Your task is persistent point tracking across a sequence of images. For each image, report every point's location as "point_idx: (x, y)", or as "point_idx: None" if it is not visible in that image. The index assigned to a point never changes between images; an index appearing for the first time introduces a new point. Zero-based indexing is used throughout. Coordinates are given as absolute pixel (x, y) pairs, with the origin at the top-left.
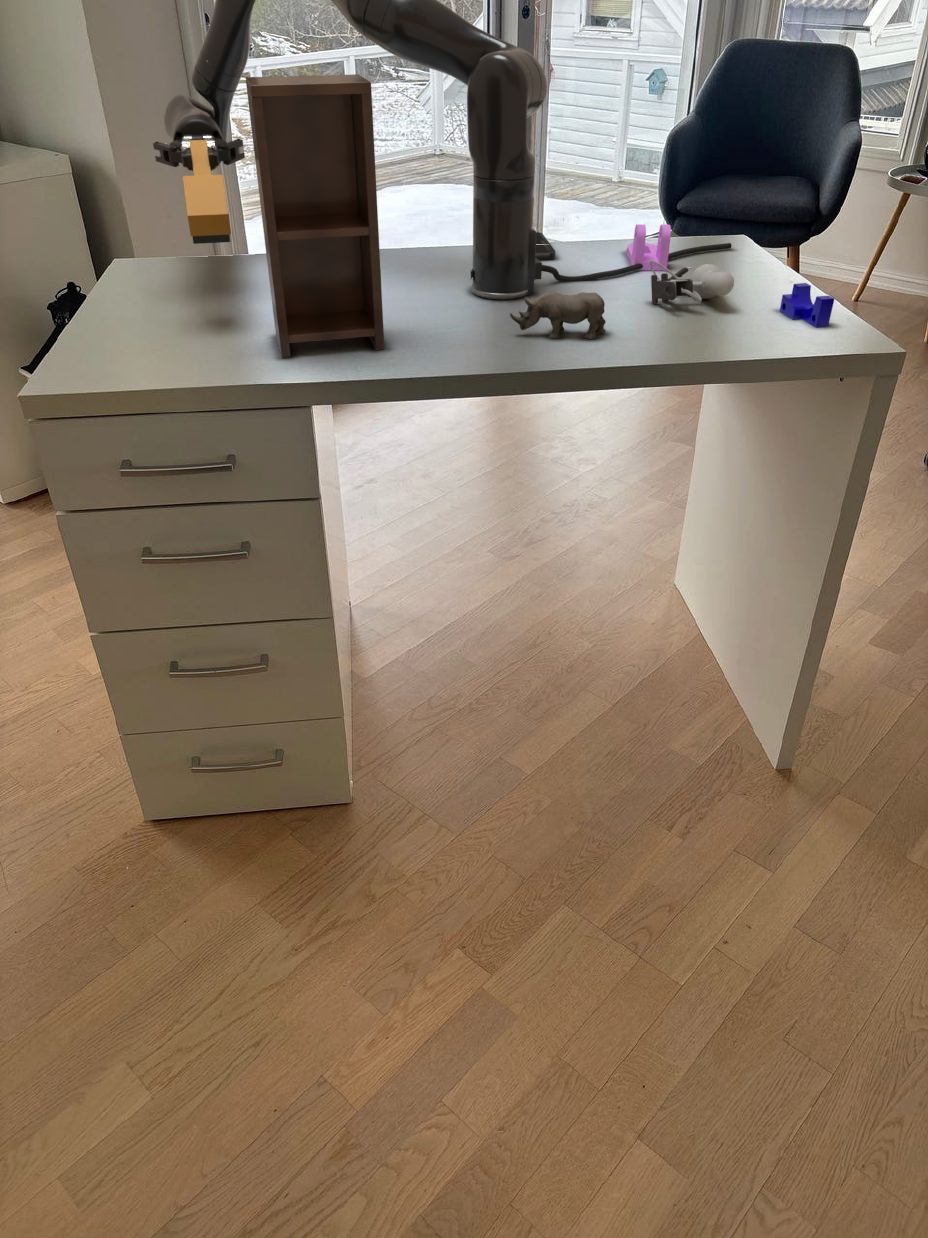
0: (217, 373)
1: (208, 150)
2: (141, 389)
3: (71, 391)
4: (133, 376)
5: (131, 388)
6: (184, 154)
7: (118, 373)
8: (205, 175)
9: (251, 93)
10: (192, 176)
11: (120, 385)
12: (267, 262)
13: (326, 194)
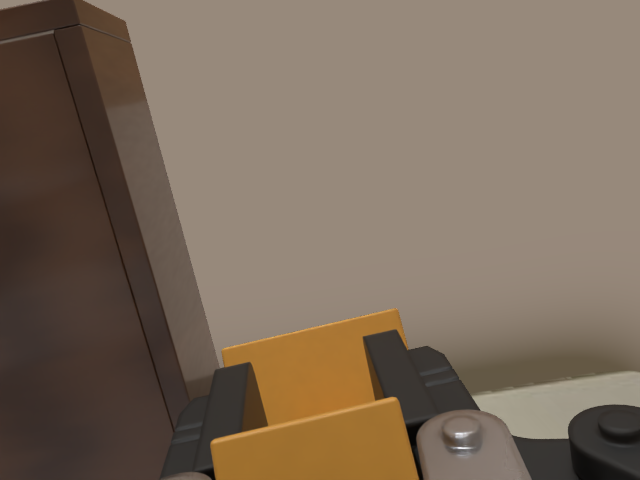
0: None
1: (236, 407)
2: (476, 396)
3: (586, 382)
4: (513, 426)
5: (494, 397)
6: (433, 382)
7: (548, 432)
8: (297, 331)
9: (128, 36)
10: (354, 318)
11: (517, 402)
12: None
13: None
